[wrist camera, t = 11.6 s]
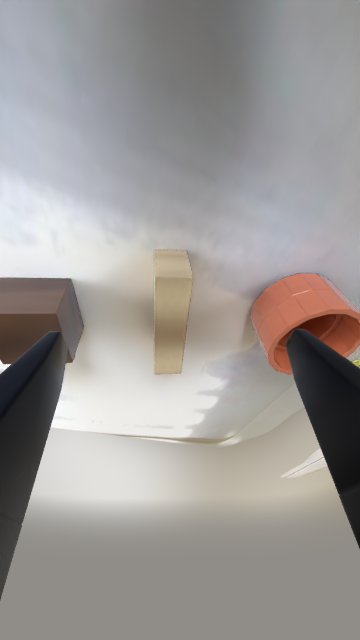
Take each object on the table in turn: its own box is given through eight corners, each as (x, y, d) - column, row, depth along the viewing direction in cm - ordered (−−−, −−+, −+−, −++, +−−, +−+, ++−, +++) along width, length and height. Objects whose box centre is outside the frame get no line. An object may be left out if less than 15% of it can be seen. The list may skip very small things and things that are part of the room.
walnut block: (0, 277, 20) (-31, 313, 16) (71, 278, 20) (55, 313, 17) (23, 326, 23) (2, 364, 20) (83, 326, 24) (72, 362, 21)
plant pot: (262, 268, 21) (288, 309, 17) (346, 270, 22) (390, 309, 18) (240, 333, 27) (256, 375, 23) (309, 332, 28) (336, 373, 24)
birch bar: (177, 343, 27) (180, 373, 24) (153, 343, 27) (154, 374, 24) (187, 250, 20) (193, 277, 17) (154, 249, 19) (154, 276, 16)
